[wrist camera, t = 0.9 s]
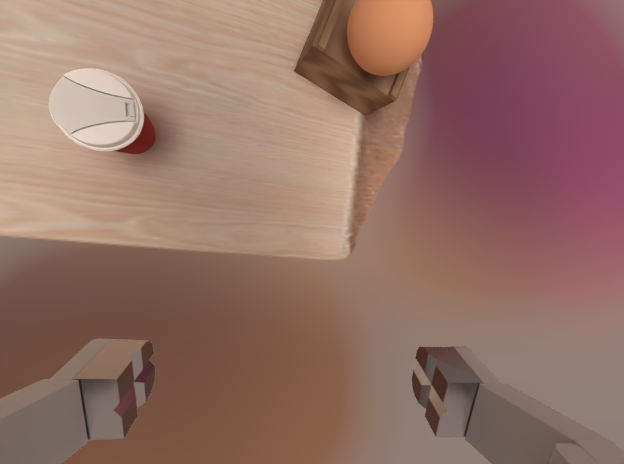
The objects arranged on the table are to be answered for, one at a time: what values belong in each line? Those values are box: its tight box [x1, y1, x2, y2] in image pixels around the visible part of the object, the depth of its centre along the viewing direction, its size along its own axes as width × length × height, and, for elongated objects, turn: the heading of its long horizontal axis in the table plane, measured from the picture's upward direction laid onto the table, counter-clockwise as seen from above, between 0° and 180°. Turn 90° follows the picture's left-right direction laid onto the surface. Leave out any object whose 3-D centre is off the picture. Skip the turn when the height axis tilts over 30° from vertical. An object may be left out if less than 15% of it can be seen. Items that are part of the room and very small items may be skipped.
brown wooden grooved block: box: [294, 0, 410, 115], centre depth 44 cm, size 14×12×10 cm
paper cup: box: [49, 68, 155, 154], centre depth 34 cm, size 8×8×14 cm
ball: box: [347, 0, 433, 76], centre depth 35 cm, size 10×10×10 cm
